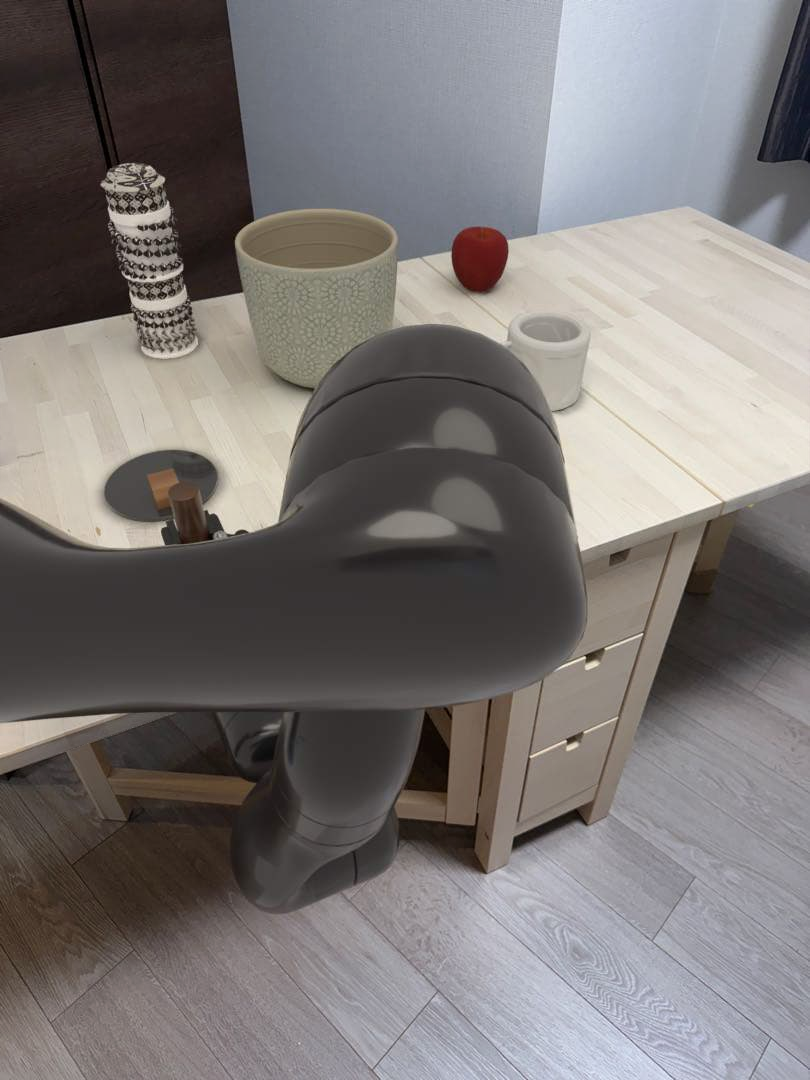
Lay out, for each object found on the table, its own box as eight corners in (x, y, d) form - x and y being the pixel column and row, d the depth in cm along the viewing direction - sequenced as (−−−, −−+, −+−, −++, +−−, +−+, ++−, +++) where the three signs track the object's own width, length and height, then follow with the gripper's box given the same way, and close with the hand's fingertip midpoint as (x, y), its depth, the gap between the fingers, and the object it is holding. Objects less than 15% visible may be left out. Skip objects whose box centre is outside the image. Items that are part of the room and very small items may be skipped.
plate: (132, 537, 81) (131, 534, 81) (88, 478, 89) (87, 475, 88) (237, 492, 87) (237, 488, 87) (188, 440, 95) (187, 437, 94)
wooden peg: (252, 604, 73) (231, 493, 63) (179, 628, 71) (145, 516, 61) (240, 576, 76) (217, 466, 66) (169, 598, 73) (135, 487, 64)
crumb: (184, 503, 85) (179, 482, 83) (158, 510, 84) (152, 490, 82) (178, 488, 87) (173, 467, 85) (152, 495, 86) (146, 474, 84)
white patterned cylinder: (206, 330, 116) (174, 157, 99) (194, 360, 109) (157, 180, 92) (147, 330, 116) (105, 157, 99) (132, 359, 109) (83, 179, 92)
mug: (557, 367, 109) (568, 303, 102) (592, 406, 102) (606, 339, 95) (471, 381, 106) (476, 316, 99) (501, 422, 99) (509, 354, 92)
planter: (424, 359, 110) (428, 229, 97) (338, 424, 98) (329, 285, 85) (315, 321, 119) (306, 197, 106) (223, 377, 106) (199, 243, 93)
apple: (512, 297, 126) (519, 237, 119) (458, 302, 125) (462, 242, 118) (494, 274, 133) (500, 216, 126) (443, 278, 131) (446, 220, 124)
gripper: (321, 593, 58) (254, 471, 69) (140, 654, 53) (100, 512, 65) (327, 654, 63) (264, 530, 74) (162, 714, 59) (121, 573, 70)
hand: (187, 522), depth 70 cm, fingers closed on wooden peg, 2 cm apart
